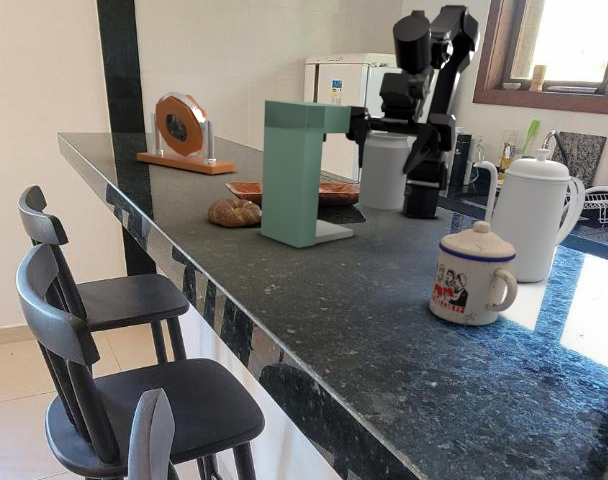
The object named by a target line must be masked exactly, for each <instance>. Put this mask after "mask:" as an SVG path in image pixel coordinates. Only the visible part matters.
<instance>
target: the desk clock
mask: <svg viewBox="0 0 608 480" xmlns="http://www.w3.org/2000/svg"><path fill="white" fill-rule="evenodd" d="M149 115H150V116H149V117H150V130H151V131H150V133H151V148H152V149H150V151H149V152H137V153H136V160H137V161H140V162H143V163H146V164H149V163H151V164H157V165H161V166H166V167H171V168H177V169H183V170H188V171H193V172H197V173H198V172H200V173H204V174H206V175H211V176H213V175H214V174H215V175H216V174H222V173H223V174H224V173H230V172H235V171H236V163H234V162H231V161H226V160H219V159H215V137H214V136H215V132H214V130H215V128H214V127H215V125H214V123H213V122H211V121H210V120H208V117H207V116H208V115H207V113H206V111H205V110H204V108H202V107H201V106H200V104H199V103H198V102H197V101H196V100H195V98H194V97H193V96H192V95H190V94H183V93H181V92H178V91H169V92H167V93H165V94H163V95H161V97H160V98H158V100H157V101H156V104H155V106H154V113H153V112H150V114H149ZM162 139H163V140H164V142H165V143H166V146H167V147H169V148H170V149H171V150H173V151H164V150H163V149H162ZM202 153H203V156H199V155H201V154H202Z"/></svg>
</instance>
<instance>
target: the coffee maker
mask: <svg viewBox="0 0 608 480" xmlns="http://www.w3.org/2000/svg"><path fill="white" fill-rule="evenodd" d="M349 106H350V105H340V104H332V103H331V104H330V103H321V102H312V101H297V100H296V101H293V100H272V99H271V100H269V99H265V100H264V115H263V117H264V121H263V148H262V149H263V151H262V152H263V153H262V154H263V155H262V185H261V186H262V187H261V212H262V217H261V222H260V224H261V225H260V235H261V236H264V237H267V238H270V239H272V240H275V241H278V242H281V243H284V244H286V245H289V246H291V247H294V248H297V249H300V248H305V247H310V246H315V245H316V244H319V243H325V242H331V241H335V240H340V239H345V238H350V237H351V238H352V237H353V234H354V229H352V228H348V227H344V226H341V225H338V224H335V223H332V222H328V221H324V220H321V219H318V211H319V210H318V209H319V196H320V183H321V170H322V157H323V148H324V147H323V145H324V143H326V142H327V135H328V134H345V133H349V124H350V114H351V107H349Z"/></svg>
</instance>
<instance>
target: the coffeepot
mask: <svg viewBox="0 0 608 480" xmlns="http://www.w3.org/2000/svg"><path fill="white" fill-rule="evenodd" d="M534 153H535V154H536V155H537V156H536V158H518V159H515V160H514V161H511V163H510V165H509V166H508V168H506V169H504V173H503V176H504V178H503V181H502V184H501V188H500V191H499V194H498V197H497V201H496V203H495V198H496V193H497V186H498V180H499V179H498V178H499V175H498V174H499V173H498V170H497V168H496V166H495V165H494V164H493V163H492V162H489V161H486V160H480V161H478V162H475V163H474V164H473V166H472V167H475V168H482V169H487V170H488V171H489V172H490V185H489V191H488V197H487V204H486V209H485V214H484V215H485V216H484V221H483V222H487V223H489V224H490V225H491V228H490V231H491V232H493V233H495V234H496V235H498V236H499V237H500V238H501V239H502V240H503V241H506V242H508V243H510V244H511V245H512V246H513V247H514V248H515V251H516V252H515V253H516V256H515V258H514V259H513V260H512V264H511V267H510V271H509V273H511V274H512V275H513V276H514V278H515V279H516V282H517V283H535V282H540V281H543V280H544V279H545V280H546V279H547V277H548V276H549V275H550V273H551V267H552V263H553V258H554V255H555V254H554V253H555V248H557V247H558V246H559V245H560V244H561V243H562V242H563V241H564V240H565V239H566V238H567V237H568V236H569V234H570V233H571V232H572V230H573V229H574V228H575V226H576V225H577V222H578V221H579V218H580V216H581V214H582V211H583V208H584V206H585V200H586V188H585V185H584V182H583V181H582V180H581V179H580V178H578V177H575V176H570V170H569V168H568V167H567V166H566V165H565V164H563V163H561V162H559V161H553V160H548V159H547V158H548V156H550V155H552V154H551V153H552V150H551V149H548V148H536V149H535V152H534ZM568 187H569V191H570V193H569V194H570V195H569V196H570V197H569V199H570V200H569V205H568V209H567V214H566V216H565V218H564V221H563V223H562V225H561V221H562V216H563V211H564V206H565V202H566V201H565V200H566V196H567V191H568ZM494 204H496V205H495V207H494ZM493 209H494V210H493ZM560 225H561V226H560Z"/></svg>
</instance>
